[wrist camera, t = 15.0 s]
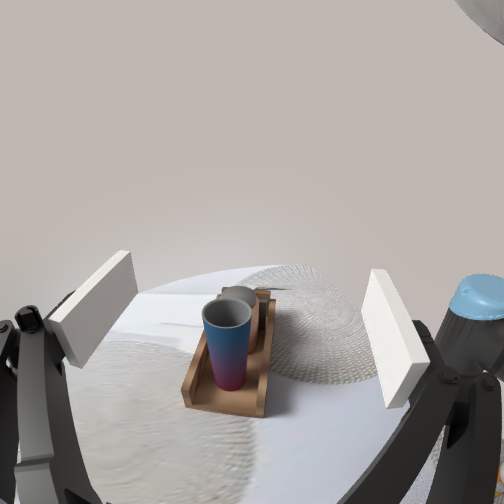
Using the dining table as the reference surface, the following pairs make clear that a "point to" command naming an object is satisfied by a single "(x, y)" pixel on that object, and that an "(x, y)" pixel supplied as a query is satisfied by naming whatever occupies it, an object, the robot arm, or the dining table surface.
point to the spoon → (272, 287)
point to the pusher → (261, 314)
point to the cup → (228, 340)
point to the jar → (253, 302)
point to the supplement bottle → (500, 480)
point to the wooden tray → (254, 390)
